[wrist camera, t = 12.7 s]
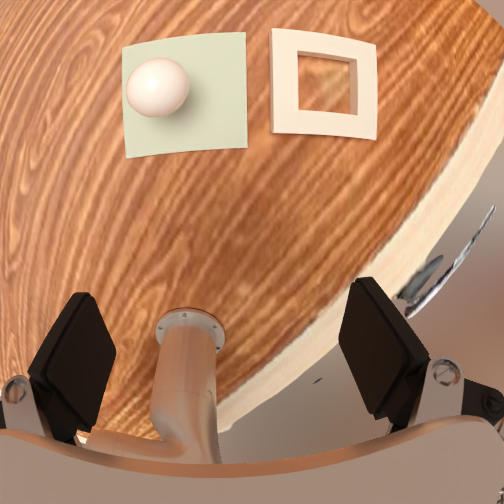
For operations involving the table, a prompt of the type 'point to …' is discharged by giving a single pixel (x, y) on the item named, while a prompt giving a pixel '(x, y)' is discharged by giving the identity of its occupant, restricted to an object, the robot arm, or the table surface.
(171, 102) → the lightbulb
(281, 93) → the pocket holder
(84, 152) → the table surface
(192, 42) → the sage mat
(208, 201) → the table surface
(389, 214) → the table surface
